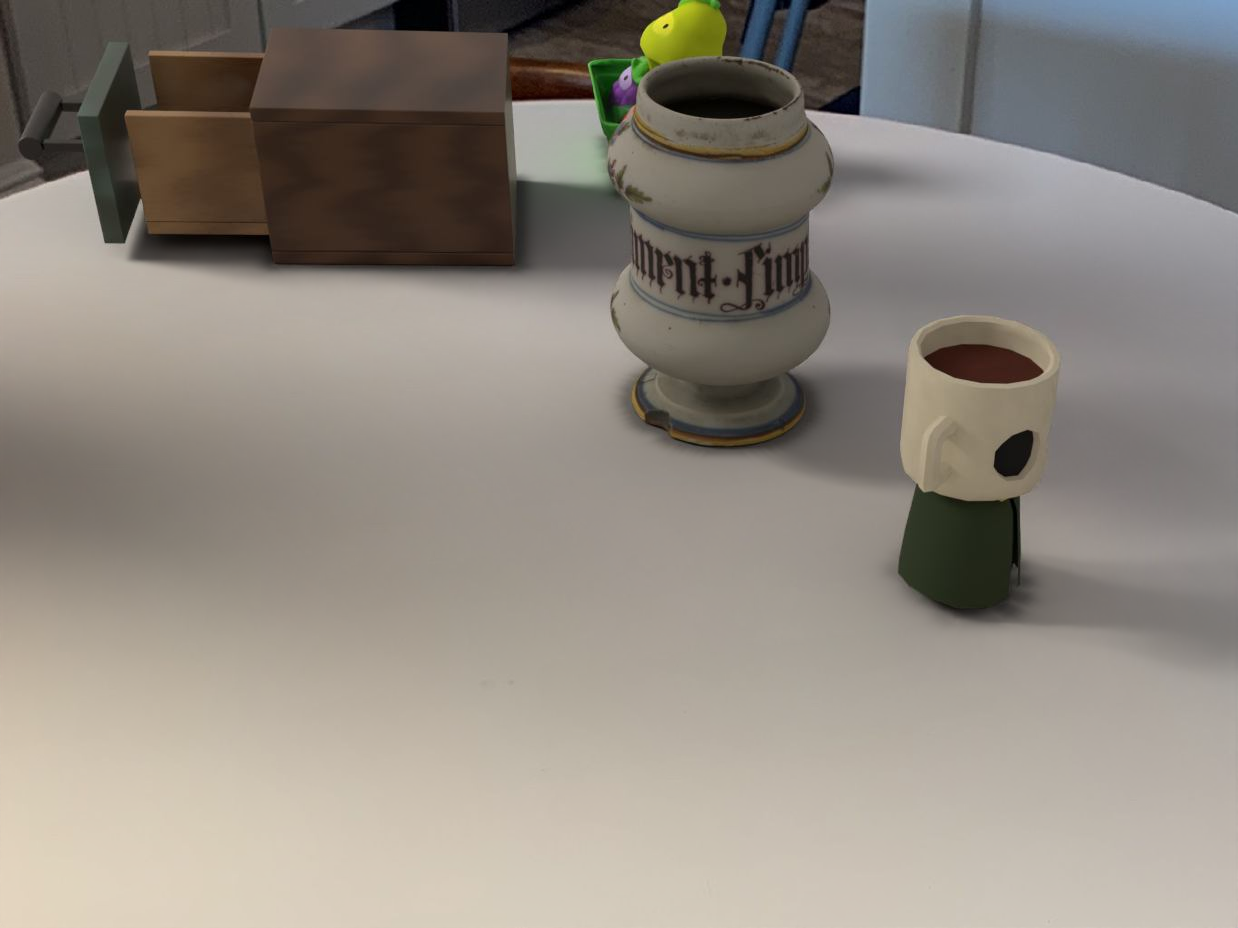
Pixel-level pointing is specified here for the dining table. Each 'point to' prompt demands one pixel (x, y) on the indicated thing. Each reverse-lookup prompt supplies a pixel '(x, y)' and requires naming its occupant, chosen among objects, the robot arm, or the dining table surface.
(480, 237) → the cabinet
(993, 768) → the dining table surface
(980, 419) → the character mug
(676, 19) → the fruit basket
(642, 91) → the apothecary jar
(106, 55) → the drawer
